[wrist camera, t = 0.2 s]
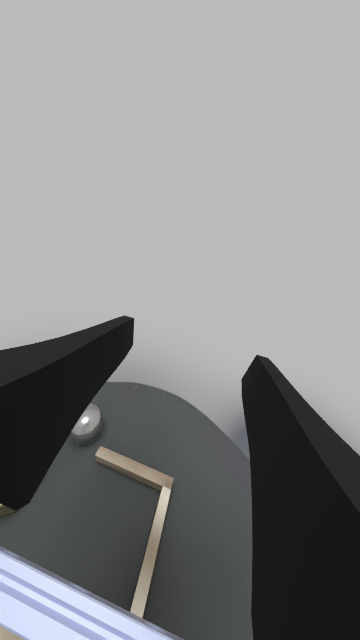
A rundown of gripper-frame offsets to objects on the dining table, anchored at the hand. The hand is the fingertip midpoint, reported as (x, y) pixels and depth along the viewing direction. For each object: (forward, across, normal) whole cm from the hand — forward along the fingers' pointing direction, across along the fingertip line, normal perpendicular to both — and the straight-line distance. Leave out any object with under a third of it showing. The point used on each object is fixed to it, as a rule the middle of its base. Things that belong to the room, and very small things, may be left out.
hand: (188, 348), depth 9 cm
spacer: (+2, +11, +22) cm, 25 cm away
